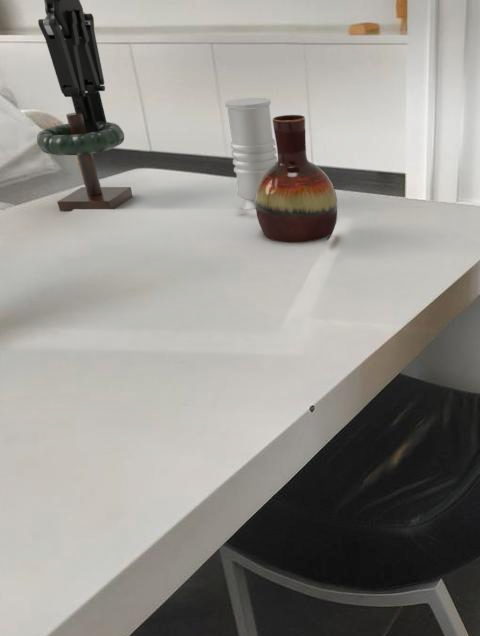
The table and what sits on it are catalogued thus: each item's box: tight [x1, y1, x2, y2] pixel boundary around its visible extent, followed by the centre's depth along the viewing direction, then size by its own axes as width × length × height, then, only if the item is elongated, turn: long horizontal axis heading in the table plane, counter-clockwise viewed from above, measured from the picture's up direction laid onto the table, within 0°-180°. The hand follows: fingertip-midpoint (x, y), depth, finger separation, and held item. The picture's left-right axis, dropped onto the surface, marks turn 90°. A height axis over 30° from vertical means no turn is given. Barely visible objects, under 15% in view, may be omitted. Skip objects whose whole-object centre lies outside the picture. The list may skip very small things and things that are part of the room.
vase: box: [255, 114, 338, 243], centre depth 91 cm, size 11×11×15 cm
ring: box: [36, 121, 125, 156], centre depth 110 cm, size 13×13×3 cm
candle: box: [224, 97, 278, 210], centre depth 106 cm, size 7×7×15 cm
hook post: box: [56, 112, 133, 212], centre depth 112 cm, size 9×9×14 cm
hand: (96, 138), depth 114 cm, fingers closed on ring, 3 cm apart
